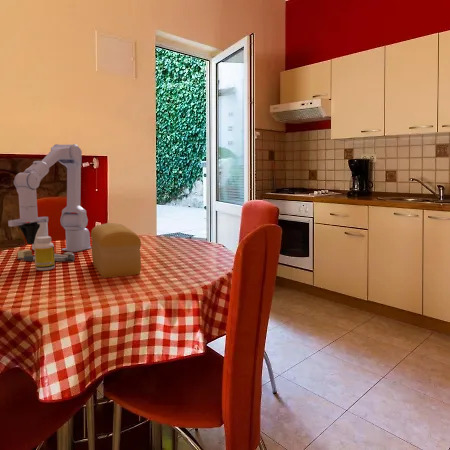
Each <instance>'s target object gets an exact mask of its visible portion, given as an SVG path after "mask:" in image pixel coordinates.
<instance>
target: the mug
mask: <svg viewBox="0 0 450 450" xmlns="http://www.w3.org/2000/svg"><path fill="white" fill-rule="evenodd" d="M48 223H49V222H42V223H37V224H40V227H39V229H38V231H37V233H36V236H35V241H34V244H31V250H33V251H34V246H35V244H37V242H36V238H37V237H41V236H49V227H48Z"/></svg>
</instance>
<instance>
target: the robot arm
mask: <svg viewBox="0 0 450 450" xmlns="http://www.w3.org/2000/svg"><path fill="white" fill-rule="evenodd" d="M82 151H83V150H81V148H80V147H79V145H78V144H76V143H73V144H59V143H56V144H54V145H53V146H51V147H50V150H49V152H48V153H47V154H46V155H45V156H44V158H43V159H41V160H34V161H33V162H32V164H31V165H30V166H29V167H28V168H26V169H25V170H24V171H23V172H19V173H17V174H16V175H15V176H14V180H13V185H14V187H15V189H16V192H17V194H18V205H19V207H18V209H19V218H17V219H10V220H8V221H7V222H8V223H7V224H8V227H11V228H12V227H16V226H18V228H19V229H20V231H21V232H22V233H23V236H24V238H25V242H26V245H32V244H34V241H35V236H36V233H37V231H38V229H39V227H40V224H37V223H42V222H47V223H49V216H39V215H38V213H39V212H38V198H37V197H38V196H37V188H39V187H40V183H41V181H42V180H43V178H44V177H45V176H46V175H48V173H49V172H50V168H51V167H52V166H54V164H56V163H57V162H59V163H60V164H61V165H63V166H64V167H66V174H67V175H66V206H65V207H64V208H62V210H61V216H60V226H61V227H63V229H64V230H65V247H66V248H61V251H67V252H73V253H77V252H80V251H84V250H88V249H92V246H91V232H90V231H89V229H88V228H86V227H87V226H88V222H89V219H88V216H87V210H86V209H85V208H83V207H82V206H81V187H82V186H81V185H82V183H81V181H82V180H81V179H82V177H81V176H82V175H81V173H82V170H81V169H82V168H81V167H82V166H81V165H82V162H83V161H82V157H83V156H82V154H83V152H82Z"/></svg>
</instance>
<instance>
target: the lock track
mask: <svg viewBox="0 0 450 450" xmlns="http://www.w3.org/2000/svg"><path fill="white" fill-rule="evenodd" d="M17 260H23V261H25V260H24V258H20V257H17ZM26 261H28V262H35V260H32V261H31V260H26Z"/></svg>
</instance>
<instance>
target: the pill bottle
mask: <svg viewBox="0 0 450 450" xmlns="http://www.w3.org/2000/svg"><path fill="white" fill-rule="evenodd" d="M36 242H37V244H35V246H34V250H33V251H34V255H35V261H34V262H35V263H34V264H35V265H34V266H35V269H36V270H37V271H50V270H52V269H55V268H56V261H55V256H54V253H55V246H54V243H53V242H52V237H51V236H50V235H48V236H41V237H37V238H36Z"/></svg>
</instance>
